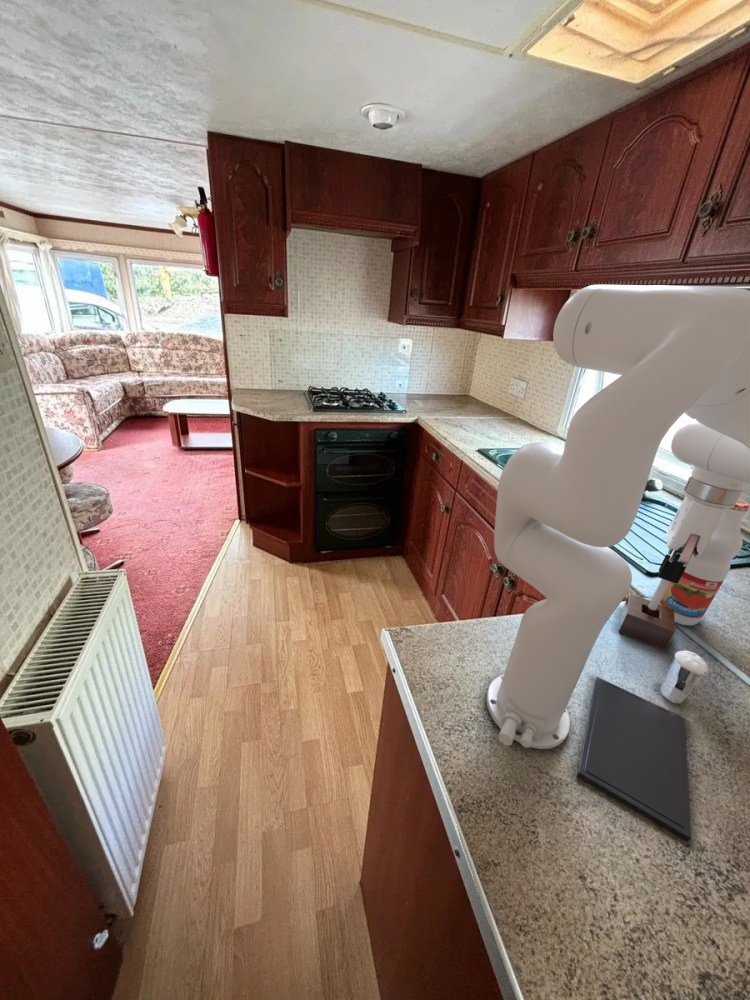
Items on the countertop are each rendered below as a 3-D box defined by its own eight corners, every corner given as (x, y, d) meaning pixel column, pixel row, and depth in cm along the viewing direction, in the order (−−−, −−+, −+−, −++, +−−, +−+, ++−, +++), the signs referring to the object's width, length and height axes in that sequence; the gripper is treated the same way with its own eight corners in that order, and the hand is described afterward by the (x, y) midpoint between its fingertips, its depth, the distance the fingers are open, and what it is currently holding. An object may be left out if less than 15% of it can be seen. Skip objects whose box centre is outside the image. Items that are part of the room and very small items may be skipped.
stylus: (654, 614, 81) (684, 556, 75) (646, 611, 82) (675, 553, 76) (654, 610, 82) (684, 553, 76) (646, 607, 83) (675, 550, 77)
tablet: (688, 842, 50) (691, 837, 49) (576, 776, 56) (578, 771, 55) (682, 722, 65) (685, 717, 65) (595, 680, 71) (597, 675, 71)
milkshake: (677, 714, 66) (704, 670, 62) (649, 686, 71) (673, 644, 67) (697, 709, 68) (725, 666, 63) (669, 682, 72) (693, 641, 68)
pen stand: (664, 651, 79) (675, 632, 77) (618, 632, 83) (627, 613, 81) (664, 627, 86) (674, 609, 83) (621, 610, 89) (629, 592, 87)
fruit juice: (684, 601, 95) (742, 494, 83) (708, 630, 86) (778, 515, 74) (642, 595, 95) (694, 487, 83) (662, 622, 87) (723, 507, 75)
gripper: (683, 473, 78) (646, 553, 86) (688, 498, 66) (644, 588, 74) (731, 485, 75) (688, 567, 83) (745, 513, 63) (693, 606, 70)
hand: (667, 576), depth 78 cm, fingers closed on stylus, 1 cm apart
